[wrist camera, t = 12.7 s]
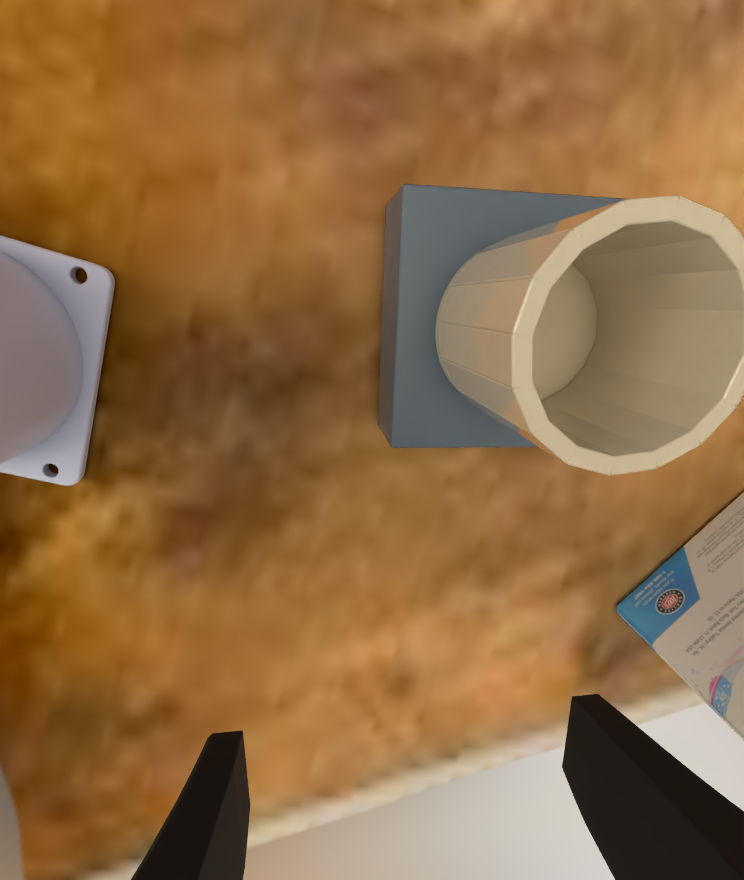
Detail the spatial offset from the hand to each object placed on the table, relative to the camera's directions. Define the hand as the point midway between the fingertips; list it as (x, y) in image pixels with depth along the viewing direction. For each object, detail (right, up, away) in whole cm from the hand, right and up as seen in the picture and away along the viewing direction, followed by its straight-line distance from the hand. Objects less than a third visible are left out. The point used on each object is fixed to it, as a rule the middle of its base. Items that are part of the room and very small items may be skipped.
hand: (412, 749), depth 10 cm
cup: (+4, +10, +5) cm, 12 cm away
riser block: (+3, +11, +8) cm, 14 cm away
